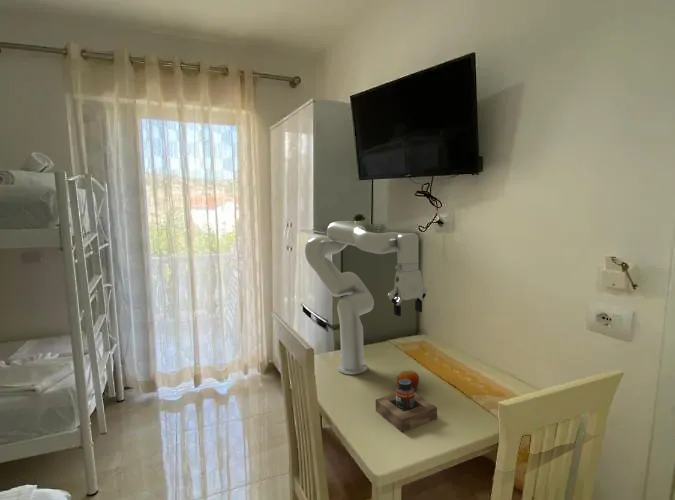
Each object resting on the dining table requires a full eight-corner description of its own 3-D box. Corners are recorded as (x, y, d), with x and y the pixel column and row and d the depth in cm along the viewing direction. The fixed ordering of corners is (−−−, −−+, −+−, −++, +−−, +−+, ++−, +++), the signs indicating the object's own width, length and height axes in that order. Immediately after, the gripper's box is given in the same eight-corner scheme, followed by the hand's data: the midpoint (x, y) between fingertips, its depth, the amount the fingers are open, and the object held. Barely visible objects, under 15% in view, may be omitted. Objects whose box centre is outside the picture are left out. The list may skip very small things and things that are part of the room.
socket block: (375, 410, 126) (375, 399, 125) (409, 400, 132) (409, 389, 132) (401, 432, 113) (401, 419, 113) (437, 419, 120) (437, 407, 119)
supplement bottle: (415, 411, 125) (415, 378, 124) (413, 421, 119) (413, 386, 118) (397, 408, 127) (397, 376, 126) (394, 418, 121) (394, 384, 120)
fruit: (409, 394, 134) (402, 371, 136) (398, 397, 140) (391, 375, 143) (427, 388, 137) (419, 366, 140) (415, 391, 144) (408, 370, 147)
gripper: (394, 271, 130) (395, 319, 132) (433, 266, 138) (433, 312, 140) (382, 268, 136) (382, 314, 138) (419, 264, 144) (420, 307, 146)
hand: (408, 313), depth 139 cm, fingers open, 9 cm apart
